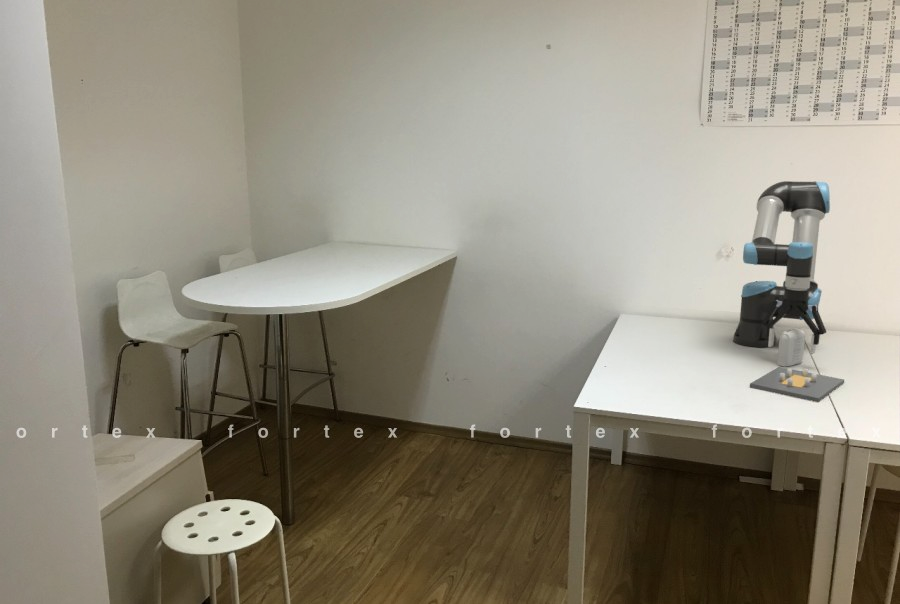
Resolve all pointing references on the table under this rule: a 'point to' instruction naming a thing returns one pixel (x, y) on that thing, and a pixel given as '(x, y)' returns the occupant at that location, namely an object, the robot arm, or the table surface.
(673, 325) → the table surface
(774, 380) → the pin tray
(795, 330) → the photo printer
